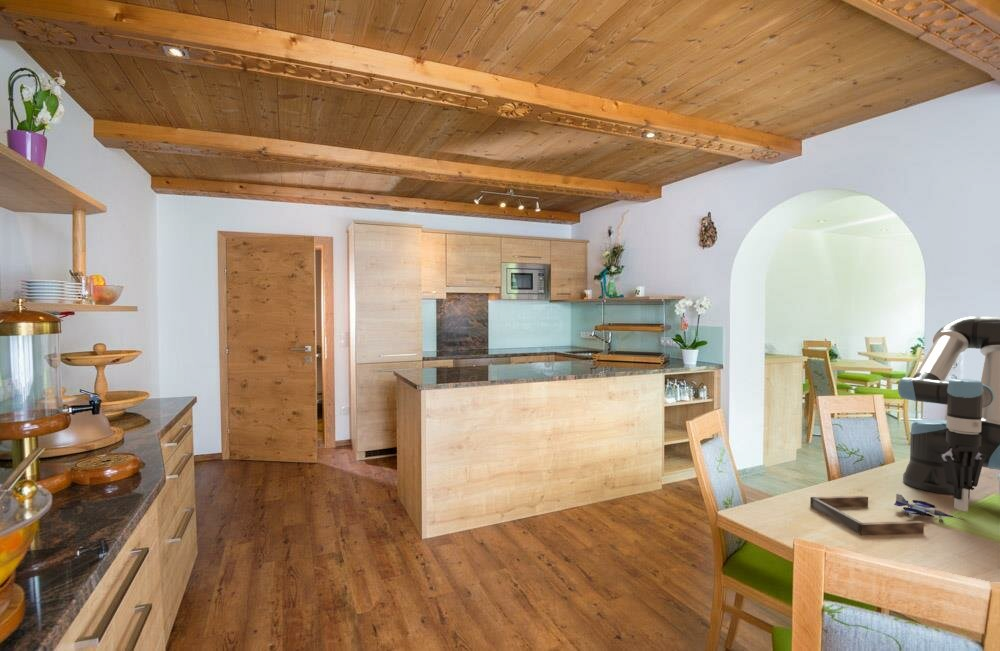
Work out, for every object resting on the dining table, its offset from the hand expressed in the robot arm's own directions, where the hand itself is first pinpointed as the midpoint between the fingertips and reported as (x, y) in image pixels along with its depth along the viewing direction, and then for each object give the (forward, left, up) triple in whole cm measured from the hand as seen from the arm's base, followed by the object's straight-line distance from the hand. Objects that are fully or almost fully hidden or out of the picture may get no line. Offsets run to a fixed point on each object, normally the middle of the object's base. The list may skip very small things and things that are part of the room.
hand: (960, 509), depth 143 cm
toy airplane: (+12, 0, -2) cm, 12 cm away
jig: (+30, 0, -2) cm, 30 cm away
